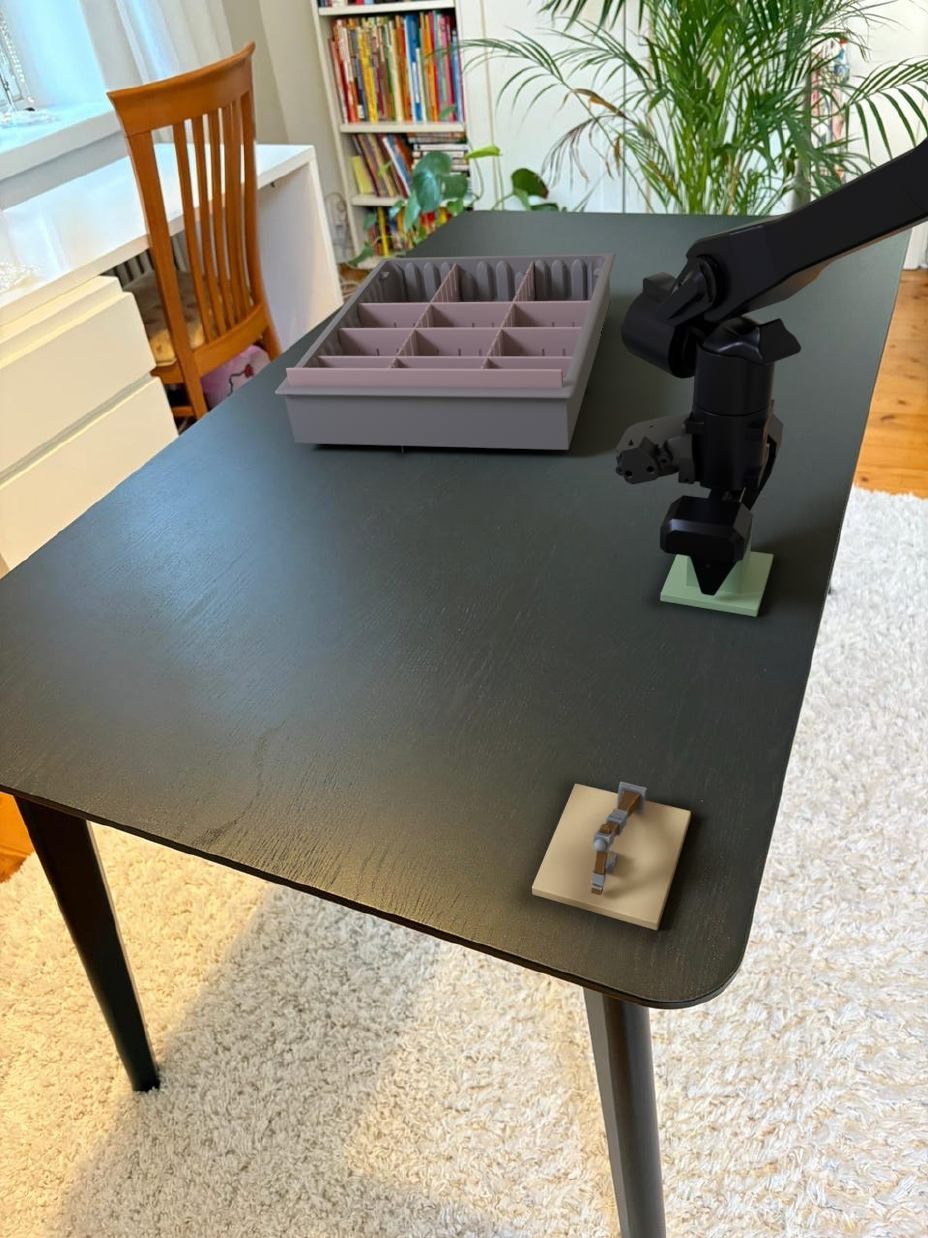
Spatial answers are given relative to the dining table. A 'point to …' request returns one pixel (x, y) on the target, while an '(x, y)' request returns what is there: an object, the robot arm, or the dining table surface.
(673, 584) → the sage pad
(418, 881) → the dining table surface
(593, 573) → the dining table surface
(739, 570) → the sage block
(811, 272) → the robot arm
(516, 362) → the organizer tray
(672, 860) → the birch pad
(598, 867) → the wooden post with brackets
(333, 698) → the dining table surface
